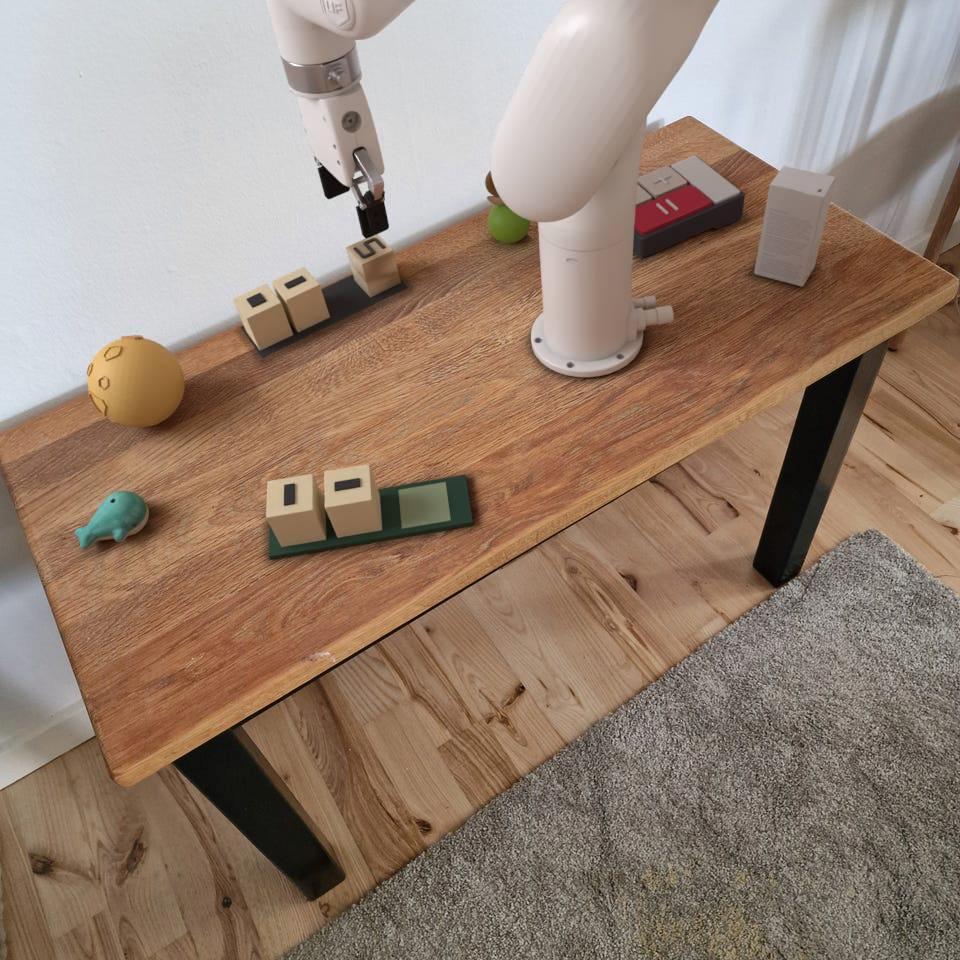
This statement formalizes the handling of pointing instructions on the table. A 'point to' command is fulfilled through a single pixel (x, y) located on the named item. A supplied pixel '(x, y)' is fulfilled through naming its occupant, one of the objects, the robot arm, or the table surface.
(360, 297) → the far word mat
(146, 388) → the stress ball
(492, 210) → the snail figurine
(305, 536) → the mat
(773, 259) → the cosmetic box
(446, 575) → the table surface
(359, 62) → the robot arm
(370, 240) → the tile
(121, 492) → the whale figurine
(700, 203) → the calculator
